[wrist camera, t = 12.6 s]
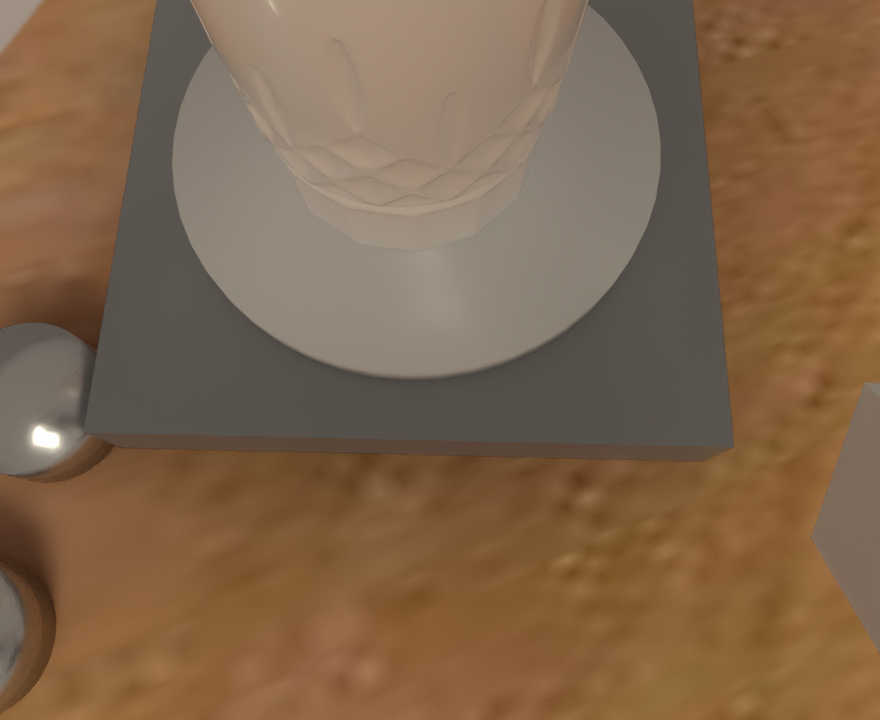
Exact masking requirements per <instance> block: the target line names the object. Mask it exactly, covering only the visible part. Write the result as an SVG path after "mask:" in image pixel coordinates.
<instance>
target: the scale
mask: <svg viewBox="0 0 880 720" xmlns="http://www.w3.org/2000/svg"><path fill="white" fill-rule="evenodd" d="M83 433H86V434H88V435H91V436H93V437H96V438H99V439H101V440H104V441H106V442H109V443H111V444H114V445H116V446H119V447H121V448H155V449H198V450H241V451H285V452H328V453H371V454H415V455H458V456H501V457H544V458H588V459H631V460H674V461H705V460H707V459H709V458H712V457H714V456H716V455H718V454H720V453H723V452H725V451H727V450H729V449H731V448H734V441H733V430H732V419H731V409H730V398H729V387H728V377H727V366H726V355H725V344H724V334H723V323H722V312H721V302H720V291H719V280H718V270H717V259H716V248H715V238H714V227H713V216H712V206H711V195H710V184H709V173H708V163H707V152H706V141H705V131H704V120H703V109H702V99H701V88H700V77H699V67H698V56H697V45H696V34H695V24H694V13H693V2H692V0H589V3H588V6H587V9H586V13H585V16H584V19H583V23H582V26H581V29H580V32H579V36H578V39H577V42H576V45H575V48H574V51H573V54H572V57H571V60H570V63H569V66H568V70H567V73H566V75H565V77H564V79H563V81H562V84H561V88H560V91H559V94H558V98H557V101H556V104H555V107H554V110H553V112H552V115H551V117H550V119H549V120H548V121H547V122H546V124H545V125H544V129H543V132H542V136H541V140H540V143H539V147H538V150H537V153H536V155H535V158H534V160H533V162H532V165H531V167H530V170H529V172H528V175H527V177H526V179H525V182H524V184H523V187H522V189H521V192H520V194H519V197H518V199H517V200H516V201H515V202H514V203H513V204H512V205H510V206H509V207H508V208H507V209H506V210H504V211H503V212H502V213H501V214H500V215H499V216H497V217H496V218H495V219H494V220H493V221H491V222H490V223H489V224H488V225H487V226H486V227H484V228H483V229H482V230H481V231H480V232H479V233H477V234H476V235H475V236H473V237H470V238H466V239H463V240H459V241H456V242H452V243H449V244H445V245H441V246H438V247H434V248H431V249H427V250H424V251H420V252H411V251H403V250H396V249H389V248H382V247H374V246H367V245H360V244H357V243H355V242H354V241H352V240H351V239H349V238H348V237H346V236H344V235H343V234H341V233H340V232H338V231H337V230H335V229H333V228H332V227H330V226H329V225H327V224H326V223H324V222H322V221H321V220H319V219H318V218H316V217H315V216H313V215H312V214H310V212H309V211H308V209H307V207H306V205H305V204H304V202H303V200H302V199H301V197H300V195H299V193H298V192H297V190H296V188H295V186H294V185H293V183H292V181H291V179H290V178H289V176H288V174H287V173H286V171H285V169H284V167H283V165H282V163H281V161H280V159H279V157H278V155H277V153H276V151H275V149H274V147H273V146H272V145H271V144H270V143H269V142H268V141H267V140H265V139H264V137H263V136H262V134H261V133H260V131H259V129H258V127H257V125H256V123H255V121H254V119H253V117H252V115H251V113H250V111H249V109H248V108H247V106H246V105H245V103H244V101H243V100H242V98H241V97H240V95H239V93H238V91H237V89H236V87H235V85H234V83H233V81H232V79H231V77H230V75H229V73H228V70H227V68H226V67H225V65H224V64H223V62H222V60H221V59H220V57H219V56H218V54H217V52H216V51H215V49H214V47H213V45H212V44H211V42H210V40H209V38H208V36H207V34H206V32H205V30H204V28H203V26H202V24H201V22H200V20H199V18H198V16H197V14H196V12H195V10H194V8H193V6H192V4H191V2H190V0H157V4H156V9H155V15H154V21H153V27H152V33H151V39H150V45H149V51H148V56H147V62H146V68H145V74H144V80H143V86H142V92H141V97H140V103H139V109H138V115H137V121H136V127H135V133H134V138H133V144H132V150H131V156H130V162H129V168H128V174H127V179H126V185H125V191H124V197H123V203H122V209H121V215H120V220H119V226H118V232H117V238H116V244H115V250H114V256H113V261H112V267H111V273H110V279H109V285H108V291H107V297H106V302H105V308H104V314H103V320H102V326H101V332H100V338H99V343H98V349H97V355H96V361H95V367H94V373H93V379H92V384H91V390H90V396H89V402H88V408H87V414H86V420H85V425H84V431H83Z"/></svg>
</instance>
